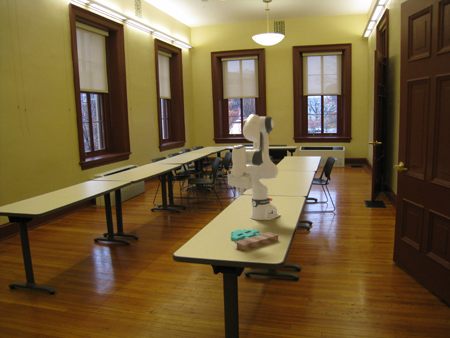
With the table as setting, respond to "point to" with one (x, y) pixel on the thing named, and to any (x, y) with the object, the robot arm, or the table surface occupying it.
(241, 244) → the laid plank
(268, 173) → the robot arm
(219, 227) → the table surface
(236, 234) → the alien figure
